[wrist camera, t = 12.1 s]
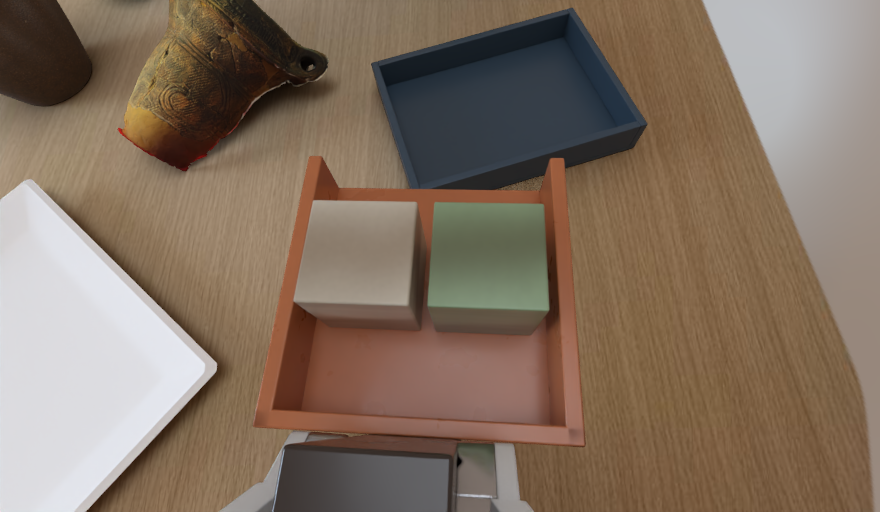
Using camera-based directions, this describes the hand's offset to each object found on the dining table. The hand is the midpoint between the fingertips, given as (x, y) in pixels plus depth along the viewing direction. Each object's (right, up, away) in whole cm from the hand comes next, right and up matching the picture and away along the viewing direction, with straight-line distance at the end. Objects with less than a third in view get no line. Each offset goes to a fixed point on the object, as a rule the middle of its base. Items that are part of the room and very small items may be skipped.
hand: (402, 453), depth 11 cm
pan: (+1, +3, +7) cm, 8 cm away
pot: (-18, +22, +29) cm, 41 cm away
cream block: (-2, +4, +7) cm, 8 cm away
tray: (+6, +18, +26) cm, 32 cm away
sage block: (+3, +4, +7) cm, 8 cm away
